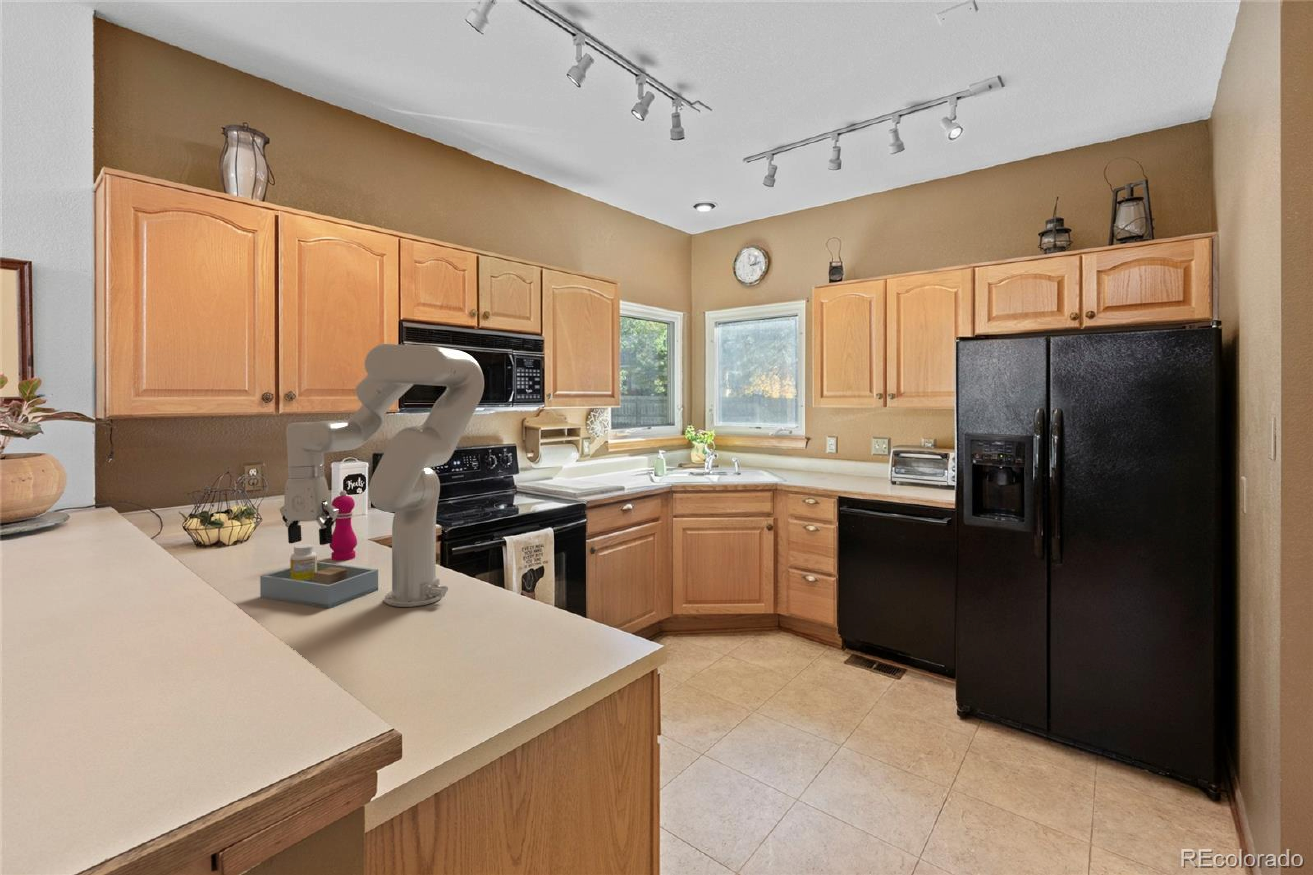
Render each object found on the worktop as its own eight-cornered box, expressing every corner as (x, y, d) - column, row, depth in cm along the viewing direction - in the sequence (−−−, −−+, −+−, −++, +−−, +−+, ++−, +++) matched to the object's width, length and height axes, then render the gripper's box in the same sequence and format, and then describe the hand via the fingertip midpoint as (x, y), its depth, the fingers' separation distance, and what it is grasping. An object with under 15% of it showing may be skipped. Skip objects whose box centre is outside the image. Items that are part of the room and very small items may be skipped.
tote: (378, 589, 148) (378, 569, 147) (328, 608, 134) (328, 586, 133) (313, 580, 154) (313, 561, 154) (260, 597, 140) (260, 576, 140)
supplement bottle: (299, 583, 148) (299, 542, 148) (322, 584, 148) (321, 543, 148) (285, 590, 143) (284, 548, 142) (308, 591, 143) (308, 548, 142)
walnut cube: (329, 595, 140) (329, 574, 139) (313, 593, 141) (313, 572, 141) (347, 589, 144) (347, 569, 144) (331, 587, 146) (331, 567, 146)
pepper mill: (336, 562, 171) (336, 493, 170) (324, 558, 175) (324, 490, 174) (361, 557, 177) (361, 490, 176) (349, 553, 181) (349, 487, 180)
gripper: (265, 474, 144) (269, 545, 145) (321, 475, 139) (325, 548, 140) (293, 471, 152) (296, 538, 152) (347, 471, 146) (350, 541, 147)
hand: (310, 543), depth 146 cm, fingers open, 9 cm apart
